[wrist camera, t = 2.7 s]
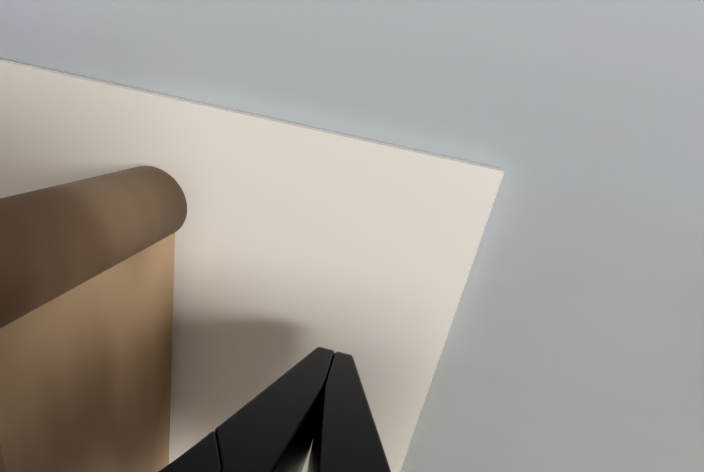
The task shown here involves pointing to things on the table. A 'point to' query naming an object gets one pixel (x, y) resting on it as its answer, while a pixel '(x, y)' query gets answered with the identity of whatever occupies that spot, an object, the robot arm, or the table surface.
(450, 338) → the table surface
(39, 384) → the fence gate
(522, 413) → the table surface
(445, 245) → the board
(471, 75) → the table surface
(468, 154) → the table surface
